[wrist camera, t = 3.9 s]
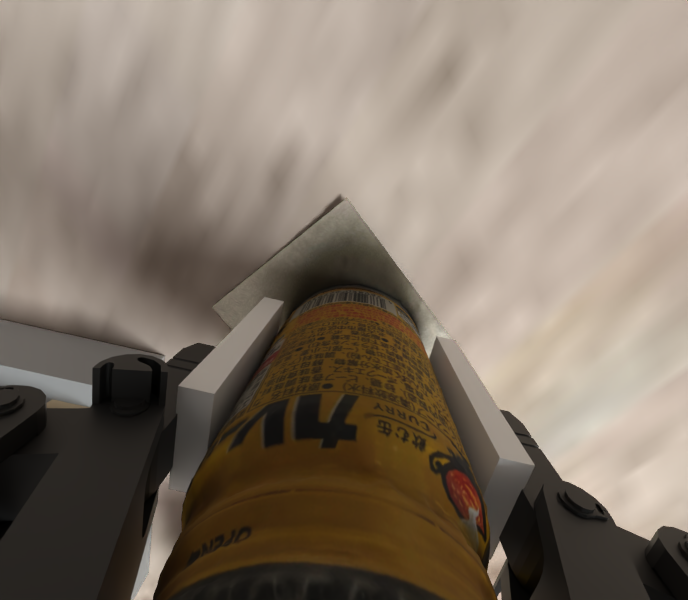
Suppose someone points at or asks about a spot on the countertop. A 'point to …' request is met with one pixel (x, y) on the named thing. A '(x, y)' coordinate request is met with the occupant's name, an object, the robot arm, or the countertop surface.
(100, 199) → the countertop surface
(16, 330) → the dock
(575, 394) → the countertop surface
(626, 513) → the countertop surface
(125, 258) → the countertop surface
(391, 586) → the condiment
